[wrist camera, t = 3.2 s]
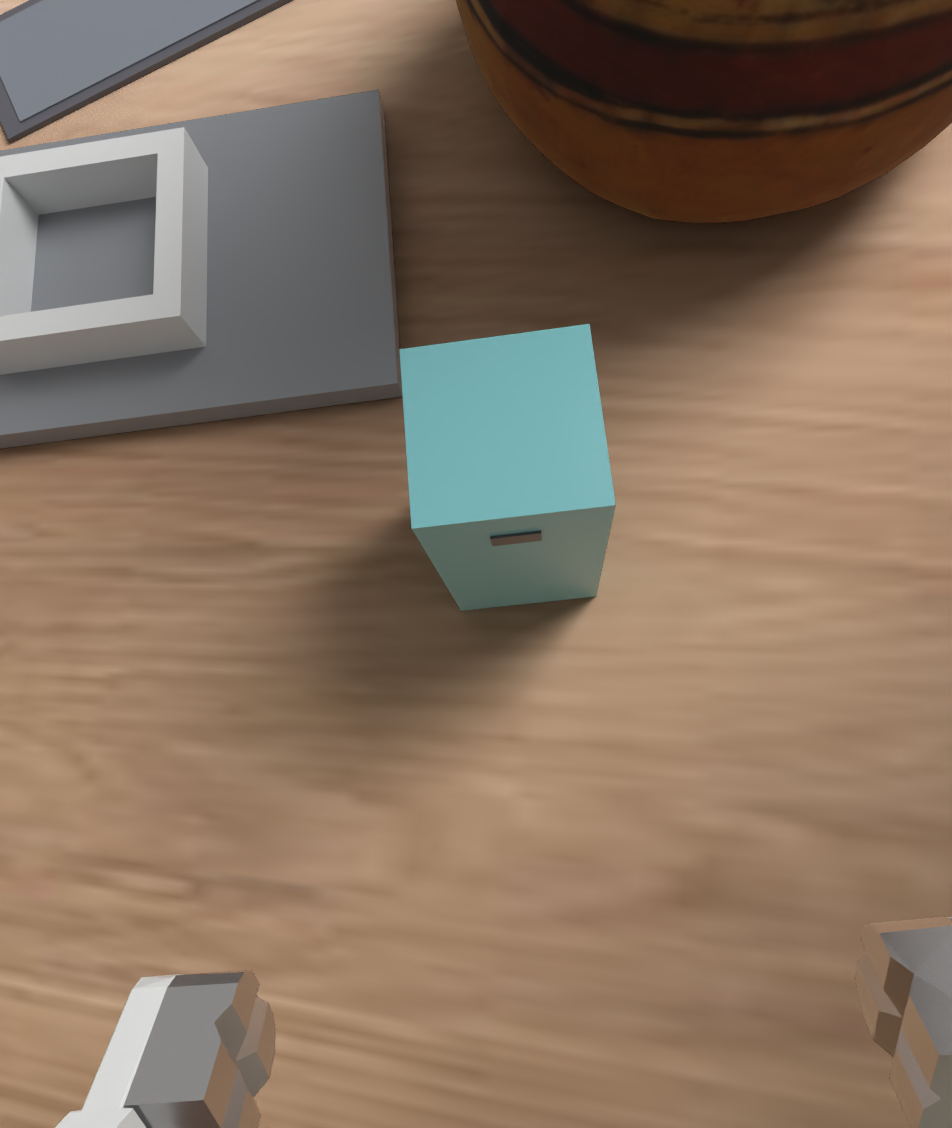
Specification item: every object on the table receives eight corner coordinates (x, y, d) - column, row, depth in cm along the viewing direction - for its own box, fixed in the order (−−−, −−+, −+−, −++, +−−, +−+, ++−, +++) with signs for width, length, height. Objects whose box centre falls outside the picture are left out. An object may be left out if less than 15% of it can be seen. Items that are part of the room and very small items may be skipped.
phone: (-25, 49, 36) (-39, 32, 35) (243, -86, 36) (235, -107, 35) (20, 153, 34) (6, 137, 33) (303, 8, 34) (296, -11, 33)
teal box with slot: (579, 469, 26) (589, 323, 18) (596, 598, 25) (616, 508, 17) (450, 485, 27) (399, 349, 18) (461, 612, 26) (411, 531, 17)
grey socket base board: (384, 110, 31) (366, 43, 28) (403, 396, 28) (385, 353, 25) (-117, 190, 33) (-181, 134, 30) (-158, 468, 30) (-235, 436, 27)
